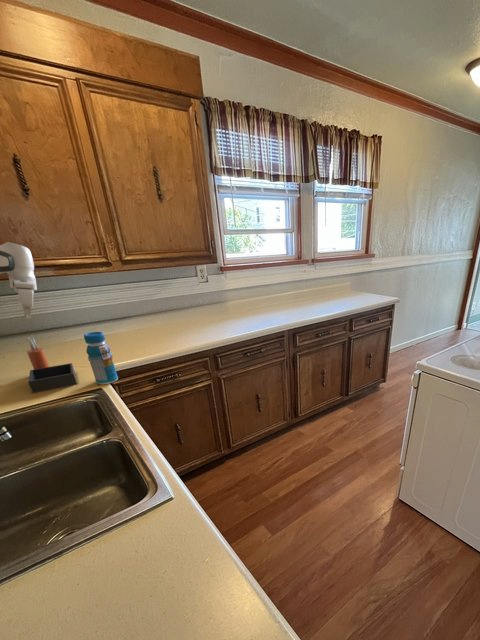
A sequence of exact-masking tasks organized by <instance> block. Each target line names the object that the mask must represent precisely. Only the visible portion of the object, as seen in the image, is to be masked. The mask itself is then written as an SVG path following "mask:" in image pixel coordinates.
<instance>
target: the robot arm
mask: <svg viewBox="0 0 480 640" xmlns="http://www.w3.org/2000/svg"><path fill="white" fill-rule="evenodd" d="M5 274H7V275H8V281H9V288H10V289H14V293H17V295H18V301H19V305H20V307H21V308H22V310H23V314H24V318H26V319H32V308H33V307H34V294H35V292H34V291H37V290H38V286H37V279H36V275H35V263H34V258H33V255H32V252H31V250H30V249H29V248H28V247H27V246H26V245H24V244H20V243H17V242H13V241H5V243H2V244H0V276H3V275H5Z"/></svg>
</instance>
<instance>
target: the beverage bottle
mask: <svg viewBox="0 0 480 640" xmlns="http://www.w3.org/2000/svg"><path fill="white" fill-rule="evenodd" d="M83 339H84V342H85V343H86V344H87V346H86V354H87V355H88V356H87V360H88V361H89V363H90V367H91V370H92V373H93V376H94V380H95V383H96V384H98V385H109V384H113V383H115V382H117V381H118V380H119V376H118V373H117V370H116V366H115V362H114V359H113V354H112V352H111V348H110V346H109V345H108V344H107V343H106V337H105V334H104V332H102V331H91V332H88V333H85V334H83Z"/></svg>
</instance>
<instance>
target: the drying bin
mask: <svg viewBox="0 0 480 640" xmlns="http://www.w3.org/2000/svg"><path fill="white" fill-rule="evenodd" d="M27 382H28V384H29V387H30V390H31V392H32V393H39V392H43V391H49V390H53V389H59V388H64V387H69V386H74V385H78V381H77V374H76V370H75V368H74V365H73V363H72V362H70V363H64V364H58V365H52V366H50V367H46V368H40V369H30V371H29V375H28V381H27Z"/></svg>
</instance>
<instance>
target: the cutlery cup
mask: <svg viewBox="0 0 480 640" xmlns="http://www.w3.org/2000/svg"><path fill="white" fill-rule="evenodd" d="M26 339H27V341H28V344H29V347H30V349H27V351H26V354H27V356H28V358H29V362H30V363H31V366H32V370H34V369H40V368H46V367H51V366H50V364H49V361H48V358H47V356H46V353H45V351H44V350H45V349H43V348H41V347H38V345H37V342H36V340H35V337H33V336H32V337H31V338H30V337H29V336H27V337H26Z"/></svg>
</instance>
